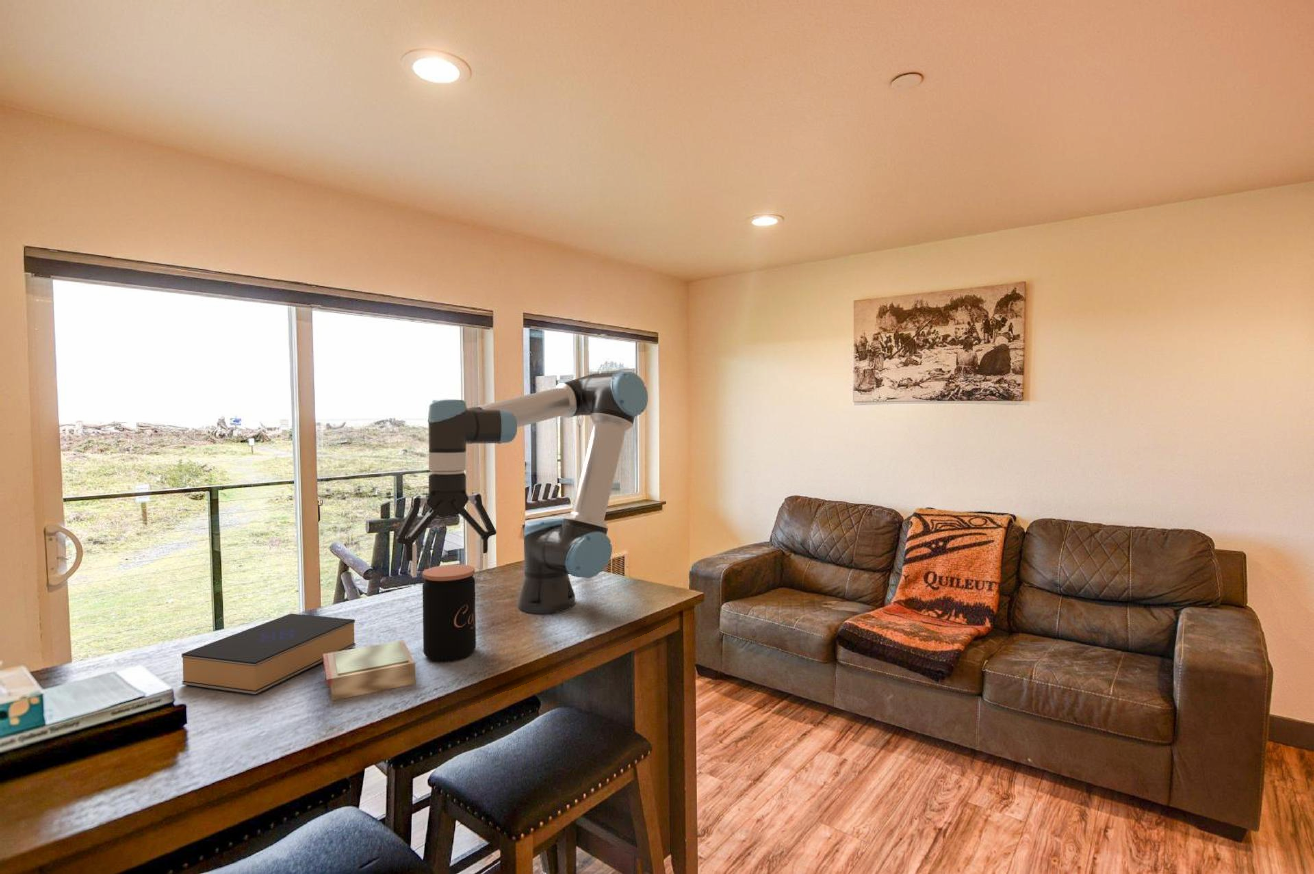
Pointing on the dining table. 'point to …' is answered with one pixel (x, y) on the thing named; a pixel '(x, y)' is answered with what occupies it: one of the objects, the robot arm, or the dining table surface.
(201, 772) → the dining table surface
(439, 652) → the coffee jar
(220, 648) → the book
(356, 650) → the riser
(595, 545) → the robot arm
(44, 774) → the dining table surface
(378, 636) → the dining table surface
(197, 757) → the dining table surface
